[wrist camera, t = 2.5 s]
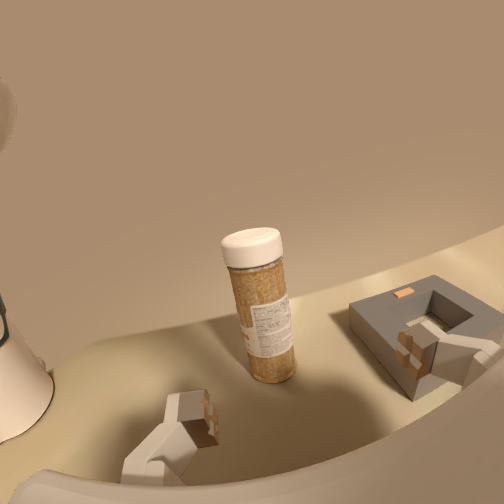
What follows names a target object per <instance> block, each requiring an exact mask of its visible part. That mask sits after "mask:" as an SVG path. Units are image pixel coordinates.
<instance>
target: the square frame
mask: <svg viewBox="0 0 504 504" xmlns="http://www.w3.org/2000/svg"><path fill="white" fill-rule="evenodd" d="M429 312H431V313H432V314H434V315H435V316H437V317H438V318H439V319H441V320H442V321H443V322H445V323H446V324H447V325H449V326H450V327H452V328H453V329H451V330H449V331H448V332H446V334H448V335H449V334H455V335H461V336H467V337H473V338H479V339H486V340H492V341H493V342H495V343H496V344H498V343H500V342H501V339H502V336H503V333H504V314H502V313H500V312H499V311H497V310H496V309H494V308H492V307H491V306H489V305H487V304H486V303H484V302H482V301H481V300H479V299H477V298H475V297H474V296H472V295H470V294H468V293H467V292H465V291H463V290H461V289H460V288H458V287H456V286H454V285H452V284H451V283H449V282H447V281H445V280H443V279H441V278H440V277H438V276H436V275H432V276H429V277H427V278H424V279H421V280H419V281H416V282H413V283H410V284H408V285H405V286H402V287H399V288H396V289H393V290H390V291H388V292H385V293H382V294H379V295H375V296H372V297H369V298H366V299H363V300H360V301H357V302H353V303H350V304H349V326H350V328H351V329H352V330H353V331H354V332H355V333H356V335H357V336H358V337H359V338H360V339H361V340H362V342H363V343H364V344H365V345H366V346H367V348H368V349H369V350H370V351H371V352H372V353H373V355H374V356H375V357H376V358H377V359H378V361H379V362H380V363H381V364H382V365H383V366H384V368H385V369H386V370H387V371H388V372H389V374H390V375H391V376H392V377H393V379H394V380H395V381H396V382H397V383H398V385H399V386H400V387H401V388H402V389H403V391H404V392H405V393H406V394H407V396H408V397H409V398H410V399H411V400H412V402H413V401H415V400H417V399H419V398H421V397H422V396H424V395H426V394H428V393H429V392H431V391H433V390H434V389H436V388H438V387H439V386H441V385H442V384H444V383H446V382H447V380H445V379H442V378H439V377H436V376H434V375H431V374H428V375H426V376H424V377H422V378H420V379H418V380H416V381H415V380H414V379H413V378H412V377H411V376H410V375H409V374H408V372H407V371H408V368H405V367H402V366H401V365H400V364H399V362H398V360H397V357H396V347H397V346H398V344H399V341H398V340H397V337H398V333H399V332H400V331H402V330H405V329H407V328H409V327H408V326H407V325H406V324H405V323H407V322H409V321H412V320H414V319H416V318H418V317H421V316H423V315H425V314H427V313H429Z"/></svg>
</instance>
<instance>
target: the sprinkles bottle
mask: <svg viewBox="0 0 504 504" xmlns="http://www.w3.org/2000/svg"><path fill="white" fill-rule="evenodd" d="M221 248H222V253H223V258H224V262H225V264H226V265H227V268H228V270H229V273H230V278H231V283H232V287H233V292H234V296H235V301H236V308H237V313H238V317H239V322H240V326H241V330H242V335H243V339H244V343H245V347H246V350H247V352H248V357H249V360H250V365H251V367H250V370H251V373H252V375H253V376H254V378H256V379H257V380H258V381H261V382H263V383H278V382H281V381H284V380H286V379H288V378H289V377H291V376H292V375H293V374H294V373H295V371H296V368H297V361H296V359H295V356H294V347H293V332H292V323H291V315H290V307H289V300H288V292H287V288H286V283H285V278H284V271H283V264H282V259H283V257H282V254H283V248H282V242H281V237H280V233H279V231H278V230H276V229H274V228H253V229H247V230H243V231H239V232H236V233H233V234H231V235H229V236H227V237H225V238H224V239H223V240H222V241H221Z"/></svg>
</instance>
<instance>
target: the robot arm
mask: <svg viewBox="0 0 504 504" xmlns="http://www.w3.org/2000/svg"><path fill="white" fill-rule="evenodd" d="M16 117H17V106H16V100H15V96H14V94H13V91H12V90H11V88H10V87H9V86H8V84H7V83H5V82H4V81H3V80H2V79H1V78H0V155H1V154H2V153H3V151H4V150H5V148H6V147H7V145H8V143H9V141H10V139H11V136H12V134H13V131H14V128H15V123H16ZM5 314H6V308H5V306H4V303H3V301H2V297H1V294H0V443H1V442H3V441H5V440H7V439H10V438H13V437H15V436H17V435H19V434H21V433H23V432H24V431H26V430H27V429H29V428H30V427H31V426H32V425H33V424H34V423H35V422H36V421H37V420H38V419H39V418H40V417H41V415H42V414H43V413H44V411H45V410H46V408H47V406H48V405H49V403H50V400H51V398H52V394H53V381H52V379H51V377H50V376H49V375H48V373H47V372H46V371H45V363H44V361H43V360H42V359H41V358H40V357H39V358H37V357H36V356H35V354H34V353H33V351H32V350H31V348H30V347H29V345H28V343H27V342H26V340H25V339H24V337H23V335H22V334H21V332H20V330H19V329H18V327H17V325H16V324H15V322H14V321H13V320H11V319H9V318H8V317H7V316H6V315H5ZM397 340H398V341H399V344H398V346H397V347H396V357H397V360H398V362H399V364H400V365H401V366H402V367H405V368H408V371H407V372H408V374H409V375H410V376H411V377H412V378H413V379H414V380H415V381H416V380H418V379H420V378H422V377H424V376H426V375H428V374H431V375H434V376H436V377H439V378H442V379H445V380H447V381H450V382H453V383H456V384H458V385H461V386H462V389H461V391H460V392H459V393H458V394H457V395H455V396H454V397H452V398H451V399H449V400H448V401H446V402H445V403H444V404H442V405H440V406H439V407H437V408H436V409H434V410H433V411H431V412H429V413H428V414H426V415H425V416H423V417H421V418H419V419H418V420H416V421H414V422H412V423H411V424H409V425H407V426H405V427H403V428H401V429H400V430H398V431H396V432H394V433H392V434H390V435H388V436H386V437H384V438H381V439H379V440H377V441H375V442H373V443H371V444H368V445H366V446H364V447H361V448H359V449H356V450H354V451H351V452H349V453H346V454H344V455H341V456H338V457H335V458H333V459H330V460H327V461H324V462H321V463H318V464H314V465H311V466H308V467H304V468H301V469H297V470H293V471H289V472H285V473H281V474H276V475H272V476H267V477H262V478H257V479H251V480H245V481H238V482H231V483H222V484H212V485H199V486H186V485H185V484H184V483H183V482H182V481H181V480H180V479H179V478H180V477H181V475H182V474H183V472H184V471H185V469H186V468H187V466H188V465H189V463H190V461H191V460H192V458H193V457H194V455H195V454H196V452H197V450H198V448H202V447H209V446H216V445H219V438H218V431H217V429H216V425H217V424H218V422H217V415H216V411H215V408H214V405H213V403H212V402H210V401H209V394H208V392H207V390H206V389H203V390H195V391H187V392H181V393H170V394H169V395H168V396H167V401H166V408H165V414H164V421H163V423H160V424H159V425H158V426H157V427H156V428H155V429H154V430H153V431H152V432H151V433H150V434H149V435H148V436H147V437H146V438H145V439H144V440H143V441H142V442H141V443H140V444H139V445H138V446H137V447H136V448H135V449H134V450H133V451H132V452H131V453H130V454H129V455H128V456H127V457H126V458H125V460H124V465H123V470H122V475H121V480H120V484H119V483H111V482H104V481H98V480H92V479H86V478H81V477H76V476H72V475H68V474H64V473H60V472H56V471H53V470H48V469H43V470H40V471H38V472H36V473H35V474H33V475H32V476H30V477H29V478H27V479H26V480H24V481H23V482H21V483H20V484H19V485H18V486H17V487H16V489H15V490H14V492H13V494H12V496H11V498H10V500H9V503H8V504H504V349H503V348H502V347H500V346H499V345H498V344H496V343H495V342H493V341H492V340H486V339H479V338H473V337H467V336H461V335H455V334H449V335H448V334H446V333H445V332H444V331H442V330H441V329H440V328H438V327H437V326H436V325H434V324H433V323H432V322H430V321H429V320H426V319H425V320H423V321H421V322H419V323H417V324H415V325H413V326H411V327H409V328H407V329H405V330H402V331H400V332H399V333H398V337H397Z"/></svg>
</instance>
